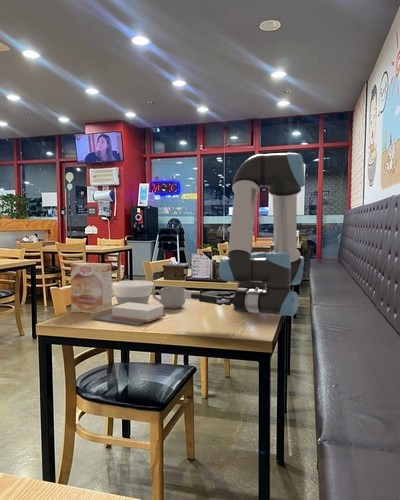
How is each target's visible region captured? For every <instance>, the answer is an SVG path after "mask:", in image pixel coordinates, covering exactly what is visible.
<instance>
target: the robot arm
mask: <svg viewBox="0 0 400 500" xmlns="http://www.w3.org/2000/svg"><path fill="white" fill-rule="evenodd" d="M232 179H233V180H232V184H231V185H232V187H231V189H232V190H231V191H232V192H233V193H234V195H233V204H232V211H231V212H232V213H231V222H230V232H229V240H228V248H227V256H225V257H222V258H220V260H219V265H218V273H219V277H220V280H222V281H225V282H237V288H236V290H235V291H220V290H219V291H217V290H216V291H215V290H207V291H203V290H187V289H186V290H185V291H184V299H185V300H194V301H198V302H200V303H206V304H213V305H217V306H222V305H225V306H231V305H233V309H234V310H236V311H237V312H245V313H252V314H253V313H254V314H255V313H256V314H268V315H275V316H290V317H291V316H295V315H296V314H297V313H298V309H299V295H298V293H297V292H296V291H293V290H291V289H292V288H291V285H293V286H294V285H295V286H297V285H299V284H301V282H302V278H303V273H304V266H305V256H302V255H301V252H300V250H299V249H297V248H298V247H297V246H298V245H297V238H298V237H297V236H298V235H297V234H298V233H297V232H298V231H297V229H298V228H297V225H298V224H297V221H298V220H297V217H298V216H297V215H298V214H297V209H298V208H297V203H298V199H297V198H298V197H297V196H298V194H300V193H301V192H302V188H303V187H305V185H306V175H305V165H304V160H303V156H302V154H300V153H298V152H297V153H296V152H280V153H279V152H278V153H266V154H263V153H259V154H255V155H252V156H250V157H249V158H247V159H246V160H245V161H244V162H243V163H242V164H241V165H240V166H239V168H238V169H237V170H236V173H235V175H234V177H233V178H232ZM260 188H268V194H269V195H271V196H272V213H273V214H272V216H273V244H274V245H273V250H272V251H270V252H267V253H266V251H259V252H252V247H253V236H254V223H255V212H256V199H257V195H258V194H259V192H260Z"/></svg>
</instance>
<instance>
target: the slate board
mask: <svg viewBox="0 0 400 500" xmlns="http://www.w3.org/2000/svg"><path fill="white" fill-rule="evenodd" d="M112 307H113V306H112ZM112 307H110V308H107V309H103V310H100V311H96V312H93V313H90V320H91V321H99V322H107V323H115V324H121V325H128V326H129V325H130V326H135V327H139V326H141V325H145V324H147V323H148V322H143V321H135V320H127V319H120V318H112ZM165 316H166V313H163V317H165Z"/></svg>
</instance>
